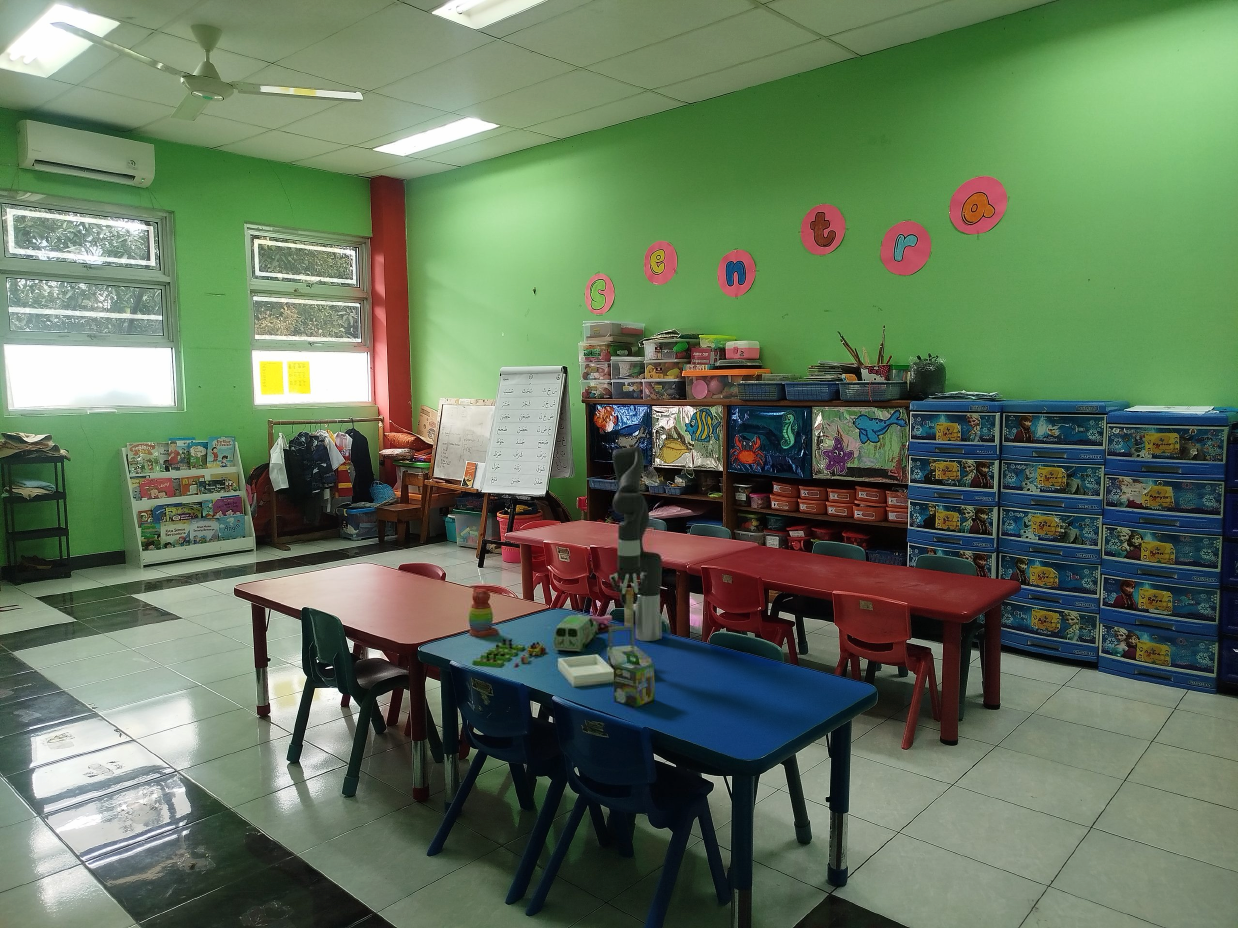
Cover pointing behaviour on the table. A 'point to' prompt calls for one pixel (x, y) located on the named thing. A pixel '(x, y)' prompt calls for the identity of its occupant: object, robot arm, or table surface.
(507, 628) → the table surface
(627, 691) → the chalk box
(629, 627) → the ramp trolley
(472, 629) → the stacking bear
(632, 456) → the robot arm
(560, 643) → the toy car
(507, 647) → the toy garden set
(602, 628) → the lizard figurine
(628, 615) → the pin
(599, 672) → the parts tray
